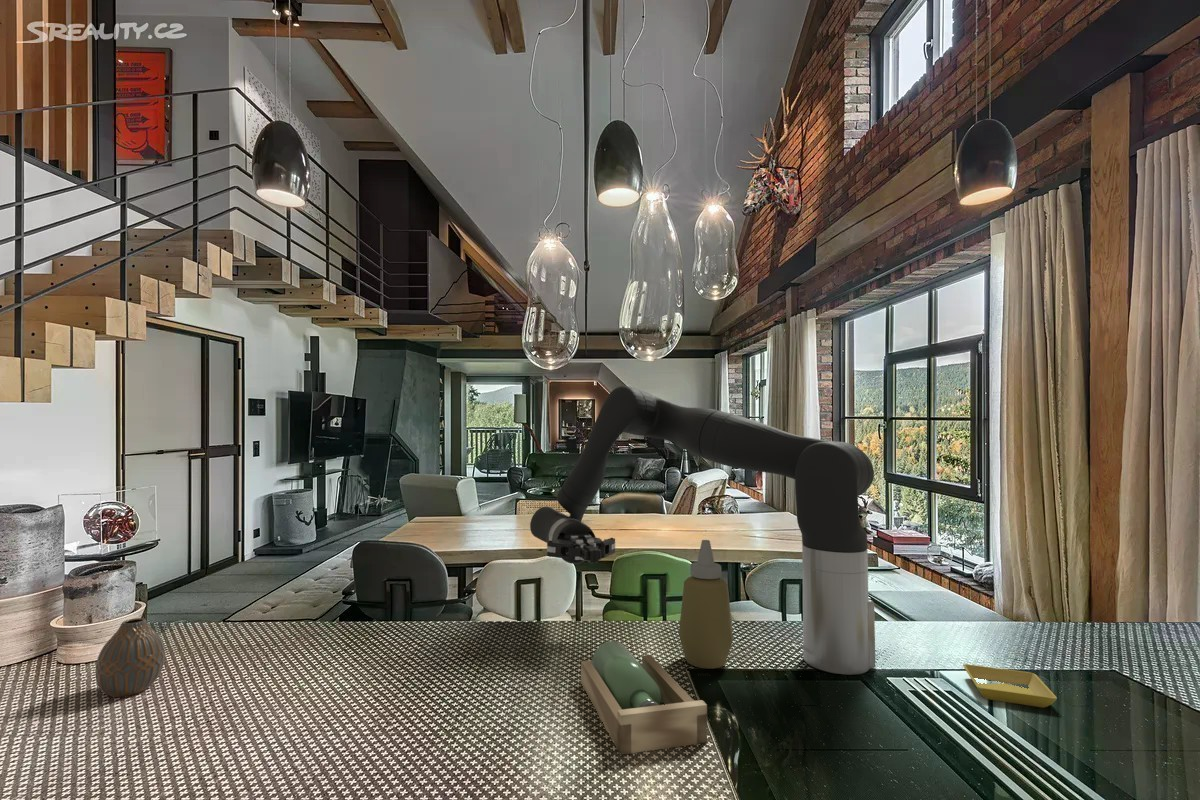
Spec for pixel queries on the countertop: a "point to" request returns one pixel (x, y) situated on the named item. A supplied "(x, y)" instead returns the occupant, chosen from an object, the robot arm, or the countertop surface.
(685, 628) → the squeeze bottle
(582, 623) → the countertop surface
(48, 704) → the countertop surface
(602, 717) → the u rest
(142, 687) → the vase
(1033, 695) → the yellow shallow square tray
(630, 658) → the bottle
